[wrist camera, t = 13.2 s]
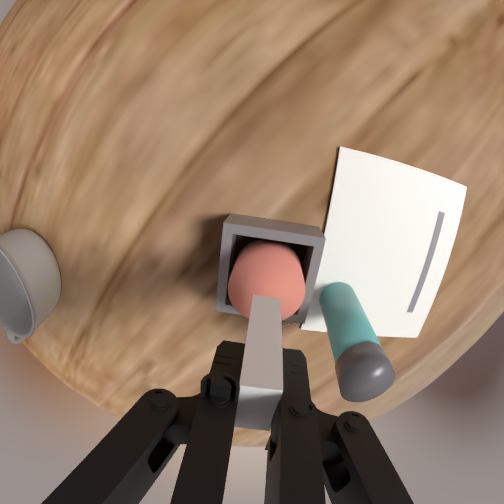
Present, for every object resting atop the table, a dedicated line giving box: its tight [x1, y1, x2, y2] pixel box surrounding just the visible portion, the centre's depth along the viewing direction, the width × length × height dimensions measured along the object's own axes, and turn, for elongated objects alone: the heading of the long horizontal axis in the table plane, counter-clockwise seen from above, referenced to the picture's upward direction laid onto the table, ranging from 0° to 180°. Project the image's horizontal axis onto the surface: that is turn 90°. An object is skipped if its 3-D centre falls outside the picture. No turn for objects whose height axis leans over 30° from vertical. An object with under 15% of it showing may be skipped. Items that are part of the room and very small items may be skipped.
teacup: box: [0, 229, 61, 344], centre depth 21 cm, size 14×11×8 cm
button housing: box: [215, 214, 326, 324], centre depth 21 cm, size 7×7×3 cm
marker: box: [319, 282, 395, 402], centre depth 18 cm, size 3×3×10 cm
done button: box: [228, 239, 305, 320], centre depth 19 cm, size 5×5×3 cm
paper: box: [301, 147, 467, 338], centre depth 21 cm, size 16×13×1 cm
